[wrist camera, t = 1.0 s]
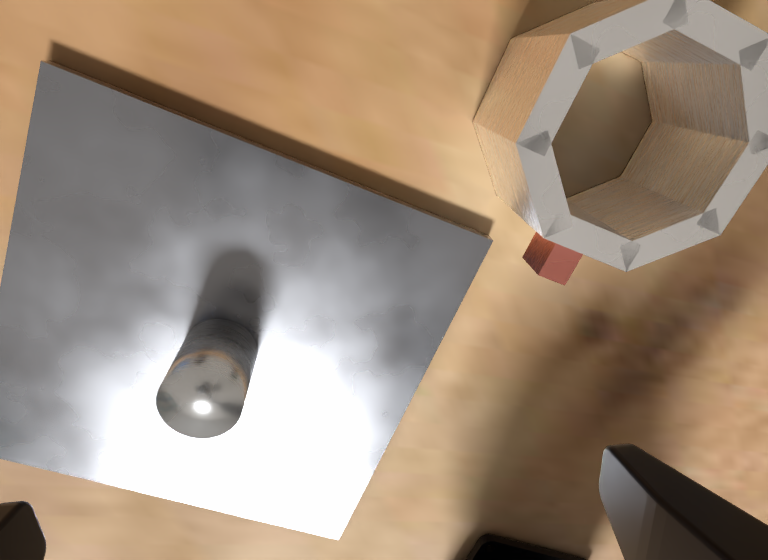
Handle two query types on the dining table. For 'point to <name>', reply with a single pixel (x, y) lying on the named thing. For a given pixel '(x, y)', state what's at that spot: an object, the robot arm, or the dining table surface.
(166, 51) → the dining table surface
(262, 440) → the duct stub
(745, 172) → the collar
